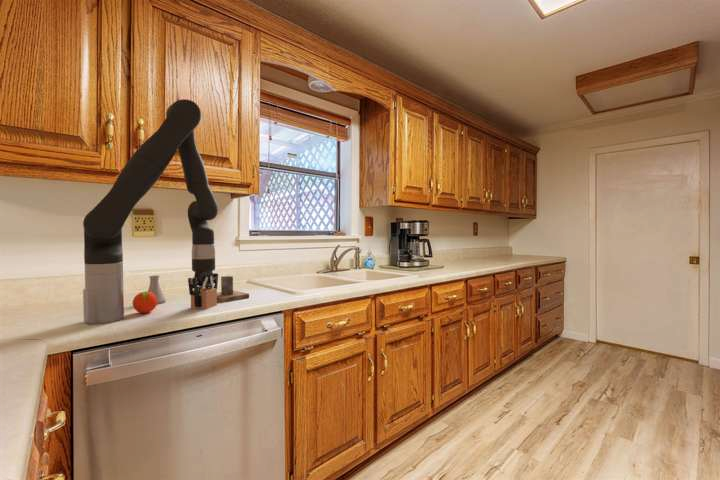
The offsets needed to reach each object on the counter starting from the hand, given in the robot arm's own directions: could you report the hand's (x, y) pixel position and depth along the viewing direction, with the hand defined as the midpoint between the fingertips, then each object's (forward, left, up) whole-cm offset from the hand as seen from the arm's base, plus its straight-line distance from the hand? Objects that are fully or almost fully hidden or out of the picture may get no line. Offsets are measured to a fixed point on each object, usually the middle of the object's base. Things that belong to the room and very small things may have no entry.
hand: (204, 304), depth 123 cm
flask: (-9, +20, -1) cm, 22 cm away
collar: (0, 0, -1) cm, 1 cm away
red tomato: (-17, +5, -1) cm, 18 cm away
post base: (+13, +8, -1) cm, 15 cm away
